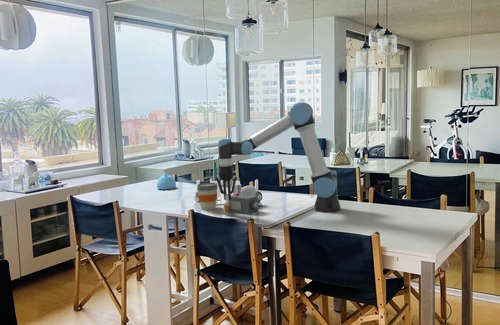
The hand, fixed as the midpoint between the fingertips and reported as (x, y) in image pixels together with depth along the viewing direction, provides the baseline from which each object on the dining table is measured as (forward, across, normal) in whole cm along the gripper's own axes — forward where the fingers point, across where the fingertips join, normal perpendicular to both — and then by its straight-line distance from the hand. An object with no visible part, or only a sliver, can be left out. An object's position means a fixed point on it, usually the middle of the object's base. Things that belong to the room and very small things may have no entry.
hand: (227, 205), depth 275 cm
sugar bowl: (+6, +64, -86) cm, 107 cm away
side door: (+4, +1, -1) cm, 5 cm away
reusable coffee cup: (+5, +15, -15) cm, 22 cm away
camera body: (+5, -9, -6) cm, 12 cm away
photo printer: (+5, -9, -22) cm, 25 cm away
